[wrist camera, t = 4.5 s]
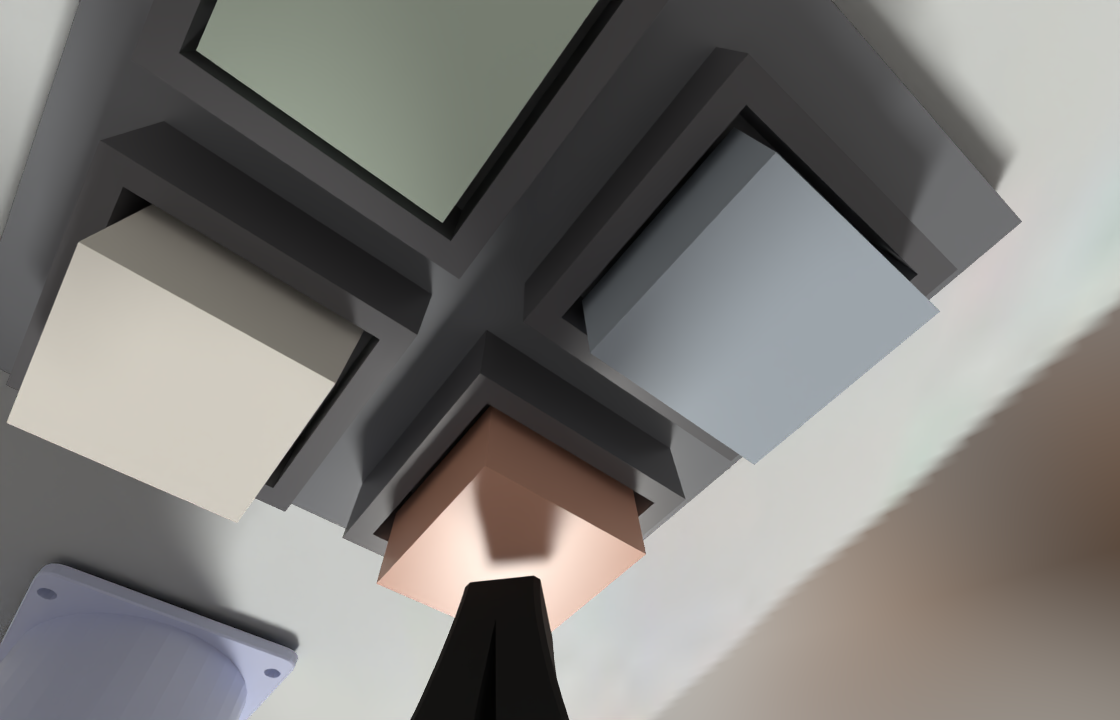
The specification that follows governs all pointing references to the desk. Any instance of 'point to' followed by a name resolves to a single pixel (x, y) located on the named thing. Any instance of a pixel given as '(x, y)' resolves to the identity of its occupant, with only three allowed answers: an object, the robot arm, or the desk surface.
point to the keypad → (482, 223)
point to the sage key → (398, 77)
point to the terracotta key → (512, 522)
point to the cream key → (180, 363)
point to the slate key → (749, 301)
